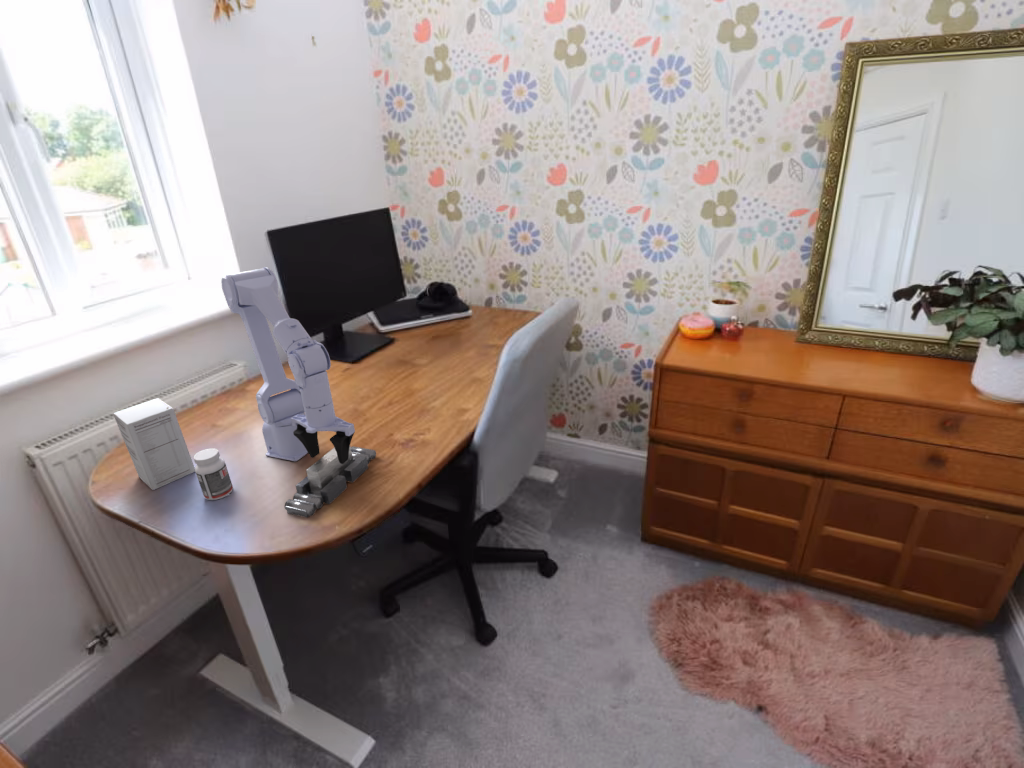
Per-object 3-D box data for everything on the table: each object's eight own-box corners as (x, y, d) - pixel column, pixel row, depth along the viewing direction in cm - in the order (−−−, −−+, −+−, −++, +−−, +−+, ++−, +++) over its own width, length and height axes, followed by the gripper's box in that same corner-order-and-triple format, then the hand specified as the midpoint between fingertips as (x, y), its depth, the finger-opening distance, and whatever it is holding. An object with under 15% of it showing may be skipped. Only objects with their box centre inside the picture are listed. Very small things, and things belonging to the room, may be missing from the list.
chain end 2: (322, 476, 118) (320, 465, 117) (352, 451, 128) (350, 440, 127) (352, 482, 116) (350, 471, 115) (380, 456, 125) (378, 445, 124)
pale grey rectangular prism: (311, 491, 112) (306, 469, 109) (343, 464, 121) (339, 443, 119) (322, 494, 111) (317, 472, 108) (354, 466, 120) (350, 445, 118)
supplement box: (181, 458, 128) (159, 396, 121) (197, 471, 122) (175, 406, 115) (136, 477, 121) (111, 412, 114) (151, 491, 116) (125, 424, 109)
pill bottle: (238, 484, 117) (226, 446, 113) (226, 500, 112) (213, 460, 108) (212, 486, 117) (199, 447, 113) (199, 501, 112) (185, 462, 107)
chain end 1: (281, 511, 107) (278, 499, 106) (317, 481, 117) (314, 470, 115) (313, 519, 105) (310, 506, 104) (347, 487, 114) (344, 476, 113)
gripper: (275, 406, 107) (289, 462, 113) (334, 415, 102) (346, 474, 108) (299, 391, 113) (311, 445, 119) (356, 400, 108) (366, 456, 114)
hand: (329, 458), depth 114 cm, fingers open, 7 cm apart
